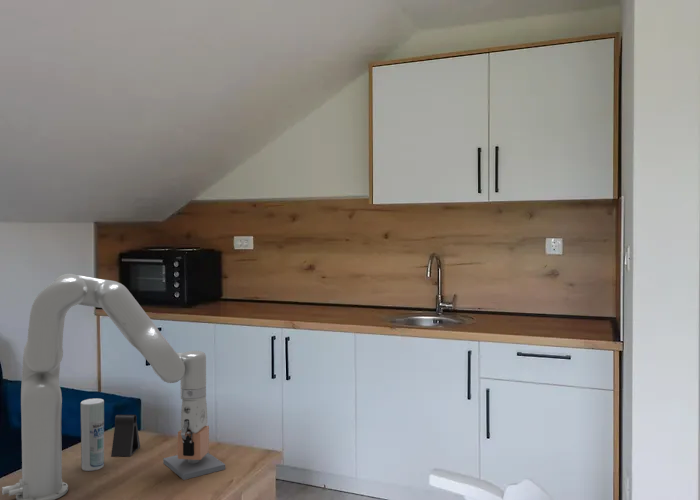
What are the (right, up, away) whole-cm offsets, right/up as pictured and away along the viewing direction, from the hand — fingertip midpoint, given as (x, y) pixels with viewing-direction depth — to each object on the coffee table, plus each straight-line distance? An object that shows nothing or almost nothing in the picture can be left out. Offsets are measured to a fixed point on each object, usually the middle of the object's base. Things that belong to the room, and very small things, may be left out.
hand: (193, 450), depth 182 cm
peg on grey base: (0, -5, 0) cm, 5 cm away
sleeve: (0, -1, 0) cm, 1 cm away
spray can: (-30, -5, -1) cm, 31 cm away
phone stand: (-25, -5, +12) cm, 28 cm away
